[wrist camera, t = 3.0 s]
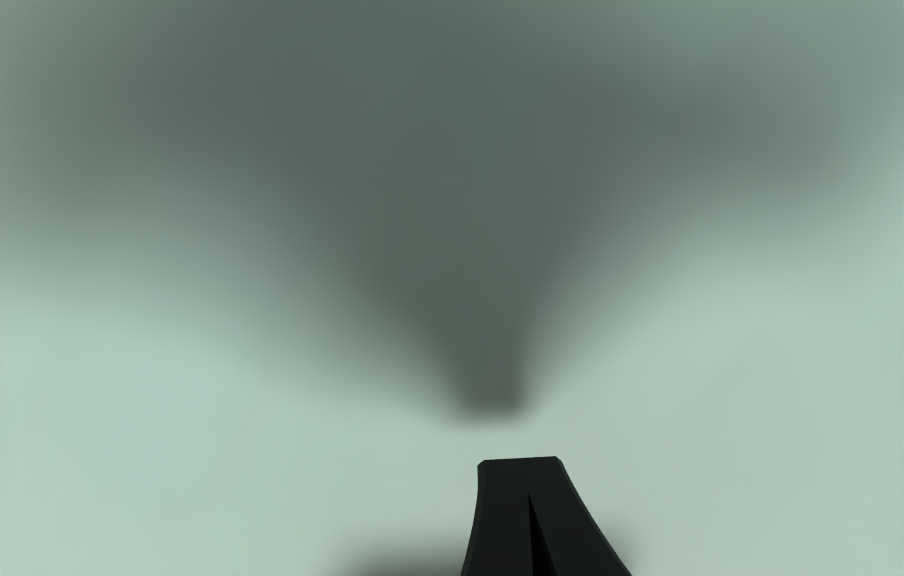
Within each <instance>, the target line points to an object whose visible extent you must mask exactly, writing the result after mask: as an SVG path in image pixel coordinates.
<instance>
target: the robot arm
mask: <svg viewBox="0 0 904 576" xmlns="http://www.w3.org/2000/svg"><path fill="white" fill-rule="evenodd" d="M477 467H478V494H477V503H476V509H475V515H474V521H473V527H472V531H471V535H470V540H469V544H468V548H467V553H466V557H465V561H464V565H463V568H462V571H461V575H460V576H632V575H631V574H630V572H629V571H628V570H627V568H626V567H625V565H624V564H623V563H622V561H621V560H620V558H619V557H618V555H617V554H616V553H615V551H614V550H613V548H612V547H611V545H610V544H609V542H608V541H607V539H606V538H605V536H604V535H603V533H602V532H601V530H600V529H599V527H598V526H597V524H596V523H595V521H594V519H593V518H592V516H591V515H590V513H589V511H588V510H587V508H586V506H585V505H584V503H583V501H582V500H581V498H580V496H579V494H578V493H577V491H576V489H575V487H574V485H573V483H572V482H571V480H570V478H569V476H568V474H567V472H566V470H565V468H564V465H563V463H562V461H561V460H559V459H558V458H557V457H556V456H551V457H532V458H514V459H495V460H484V461H482V462H481V463H480V464H479V465H477Z"/></svg>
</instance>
